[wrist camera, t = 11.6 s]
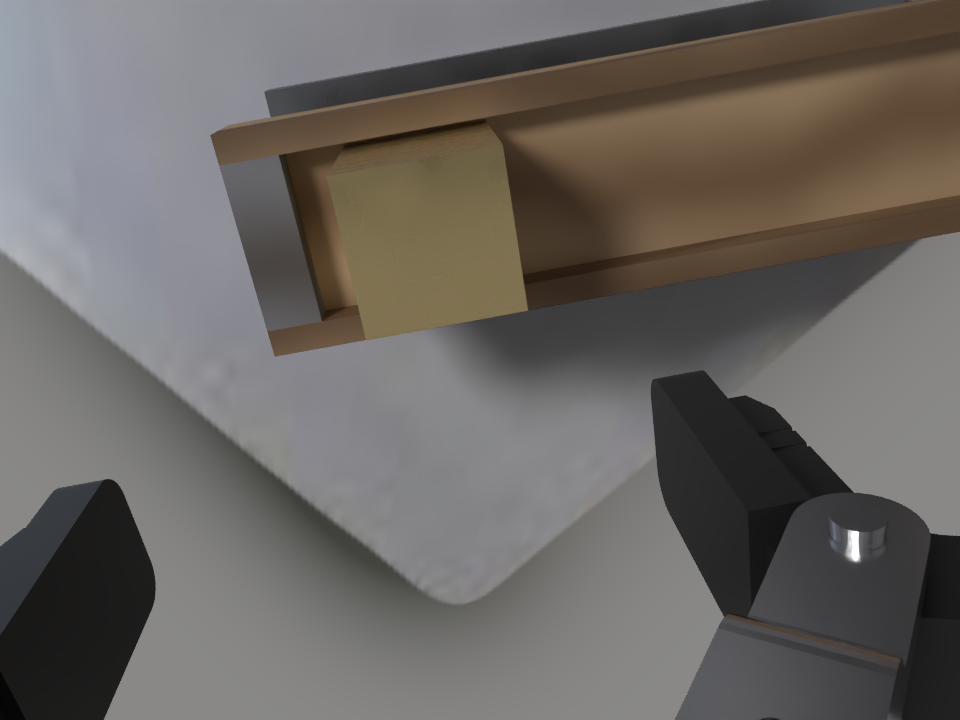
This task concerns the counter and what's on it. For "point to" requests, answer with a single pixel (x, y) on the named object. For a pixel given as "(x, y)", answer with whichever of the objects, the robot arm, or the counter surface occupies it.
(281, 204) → the seesaw beam
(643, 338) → the counter surface
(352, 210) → the brass block
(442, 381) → the counter surface
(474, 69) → the pivot stand
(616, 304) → the counter surface
